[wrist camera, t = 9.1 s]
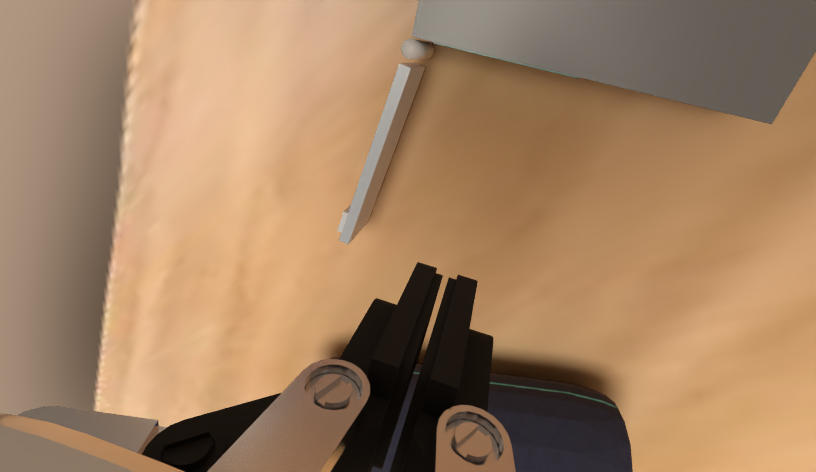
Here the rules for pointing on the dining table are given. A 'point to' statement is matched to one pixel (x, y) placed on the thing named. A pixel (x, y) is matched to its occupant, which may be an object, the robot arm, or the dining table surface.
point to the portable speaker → (548, 426)
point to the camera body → (640, 44)
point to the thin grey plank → (381, 149)
